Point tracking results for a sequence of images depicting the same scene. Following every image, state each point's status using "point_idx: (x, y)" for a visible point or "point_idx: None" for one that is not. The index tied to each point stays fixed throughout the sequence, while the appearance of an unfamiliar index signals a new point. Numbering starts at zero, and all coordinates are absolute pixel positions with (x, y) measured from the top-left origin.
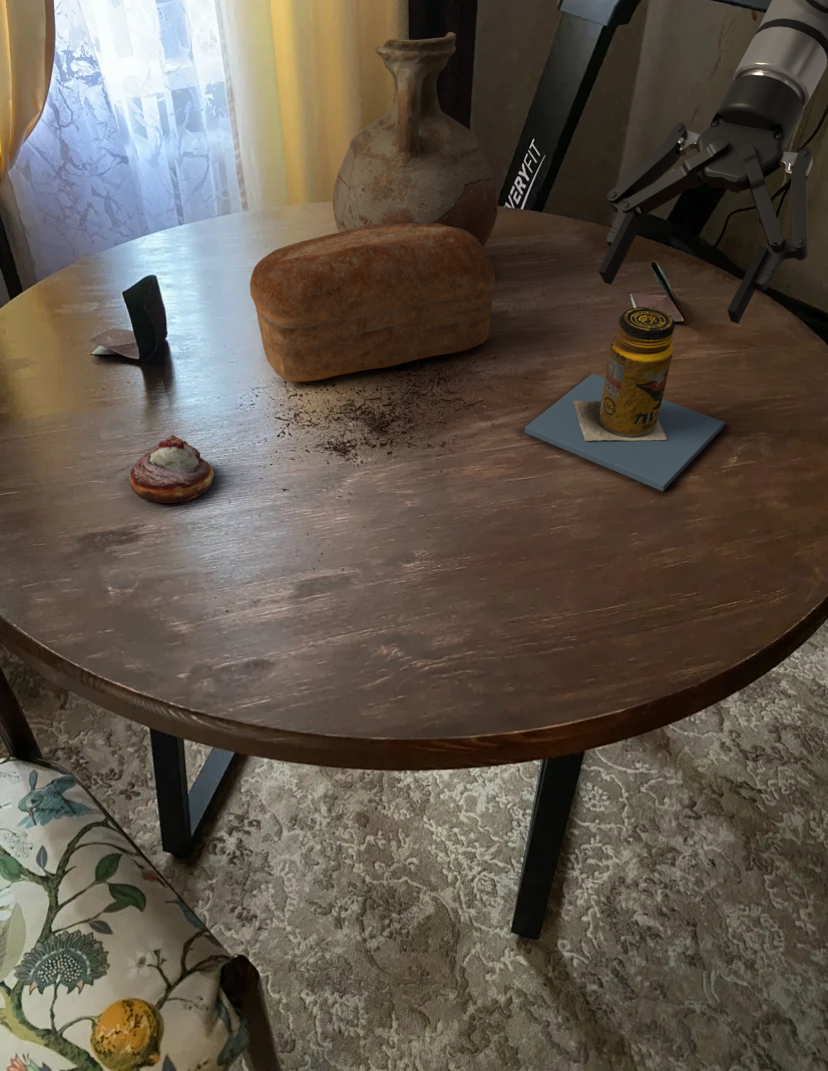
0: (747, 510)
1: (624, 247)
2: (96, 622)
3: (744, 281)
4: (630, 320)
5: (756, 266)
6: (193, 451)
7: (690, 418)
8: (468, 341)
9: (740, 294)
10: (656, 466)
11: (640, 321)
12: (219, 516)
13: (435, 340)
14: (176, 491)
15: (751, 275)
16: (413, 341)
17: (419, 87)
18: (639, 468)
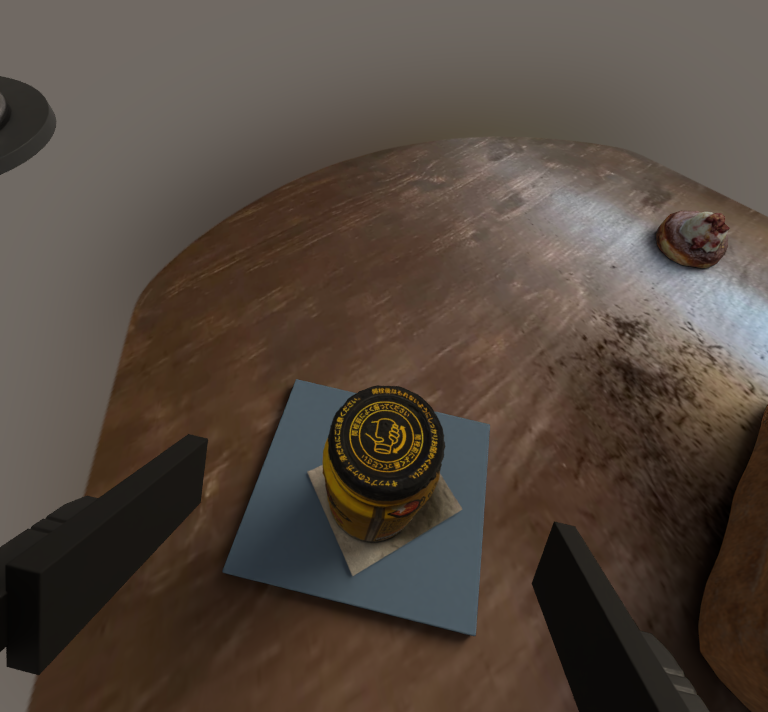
0: (196, 389)
1: (582, 649)
2: (593, 157)
3: (147, 478)
4: (418, 415)
5: (89, 511)
6: (700, 236)
7: (279, 554)
8: (708, 599)
9: (167, 457)
10: (311, 409)
11: (398, 421)
12: (623, 231)
13: (739, 542)
14: (665, 219)
15: (118, 488)
16: (754, 508)
17: None
18: (330, 397)
